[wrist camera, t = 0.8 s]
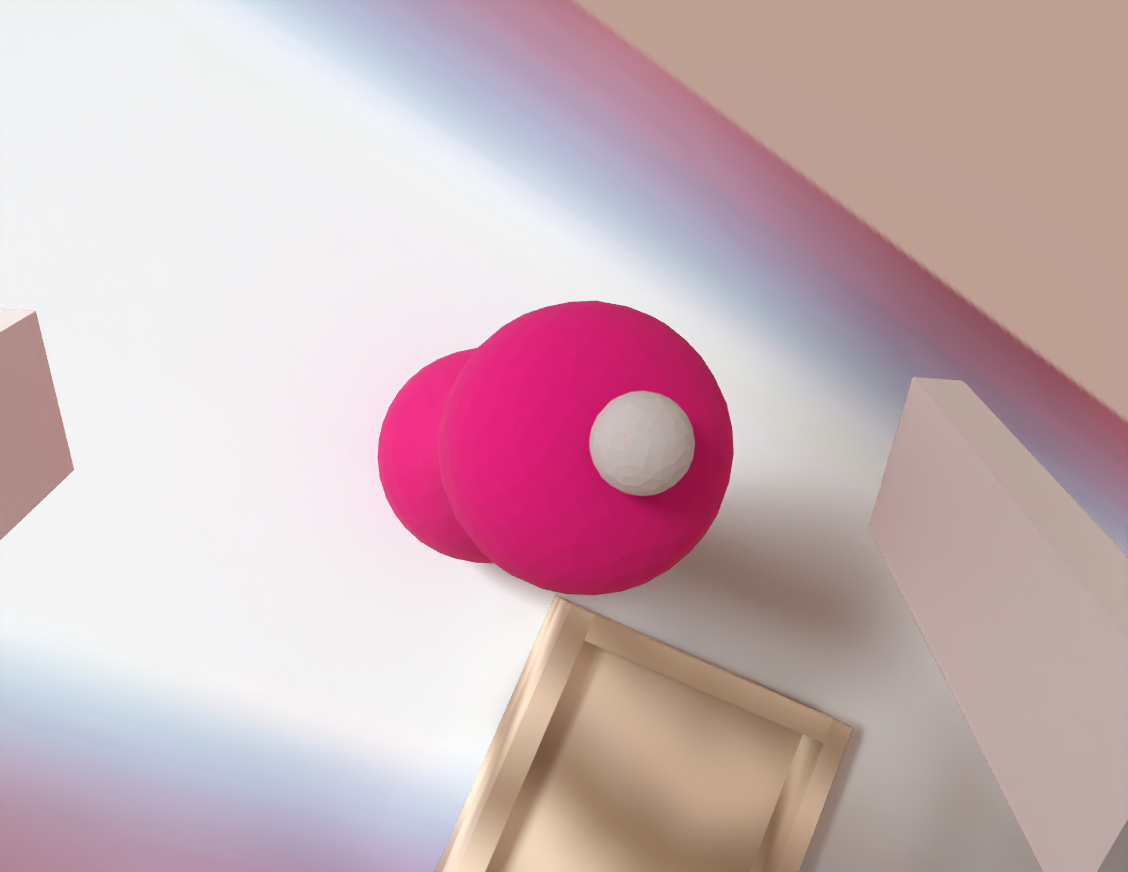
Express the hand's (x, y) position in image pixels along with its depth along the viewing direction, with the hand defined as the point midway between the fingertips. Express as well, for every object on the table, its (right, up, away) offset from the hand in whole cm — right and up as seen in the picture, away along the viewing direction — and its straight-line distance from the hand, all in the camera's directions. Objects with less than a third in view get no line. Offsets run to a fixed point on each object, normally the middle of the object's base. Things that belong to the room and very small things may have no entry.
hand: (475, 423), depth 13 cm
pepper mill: (-2, -1, +20) cm, 20 cm away
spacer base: (+4, -15, +21) cm, 26 cm away
